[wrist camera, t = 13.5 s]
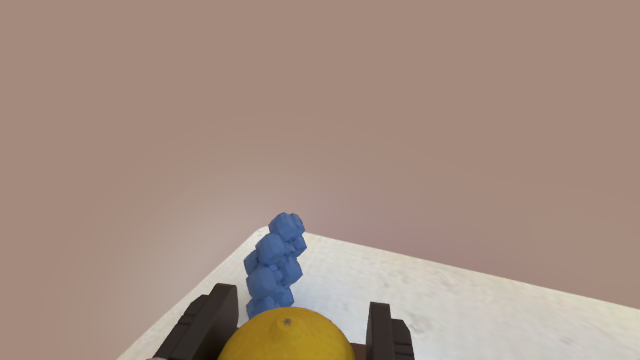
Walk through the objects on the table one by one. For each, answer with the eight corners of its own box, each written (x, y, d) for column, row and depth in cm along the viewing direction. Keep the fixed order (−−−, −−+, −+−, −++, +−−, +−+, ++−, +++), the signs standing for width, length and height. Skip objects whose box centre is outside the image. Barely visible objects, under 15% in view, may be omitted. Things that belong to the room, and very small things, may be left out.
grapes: (268, 272, 44) (265, 191, 39) (315, 284, 42) (318, 200, 38) (218, 339, 33) (207, 240, 29) (277, 358, 32) (275, 255, 27)
